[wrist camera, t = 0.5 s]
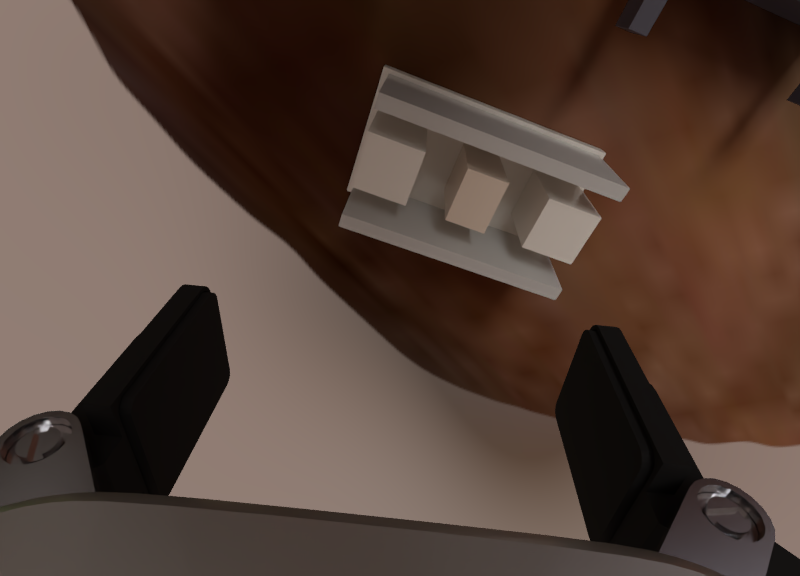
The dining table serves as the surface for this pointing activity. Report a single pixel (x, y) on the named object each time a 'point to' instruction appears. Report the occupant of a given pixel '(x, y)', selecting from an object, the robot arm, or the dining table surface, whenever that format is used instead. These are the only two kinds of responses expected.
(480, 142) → the stand
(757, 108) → the dining table surface
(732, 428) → the dining table surface
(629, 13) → the grey bracket
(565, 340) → the dining table surface
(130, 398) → the robot arm
